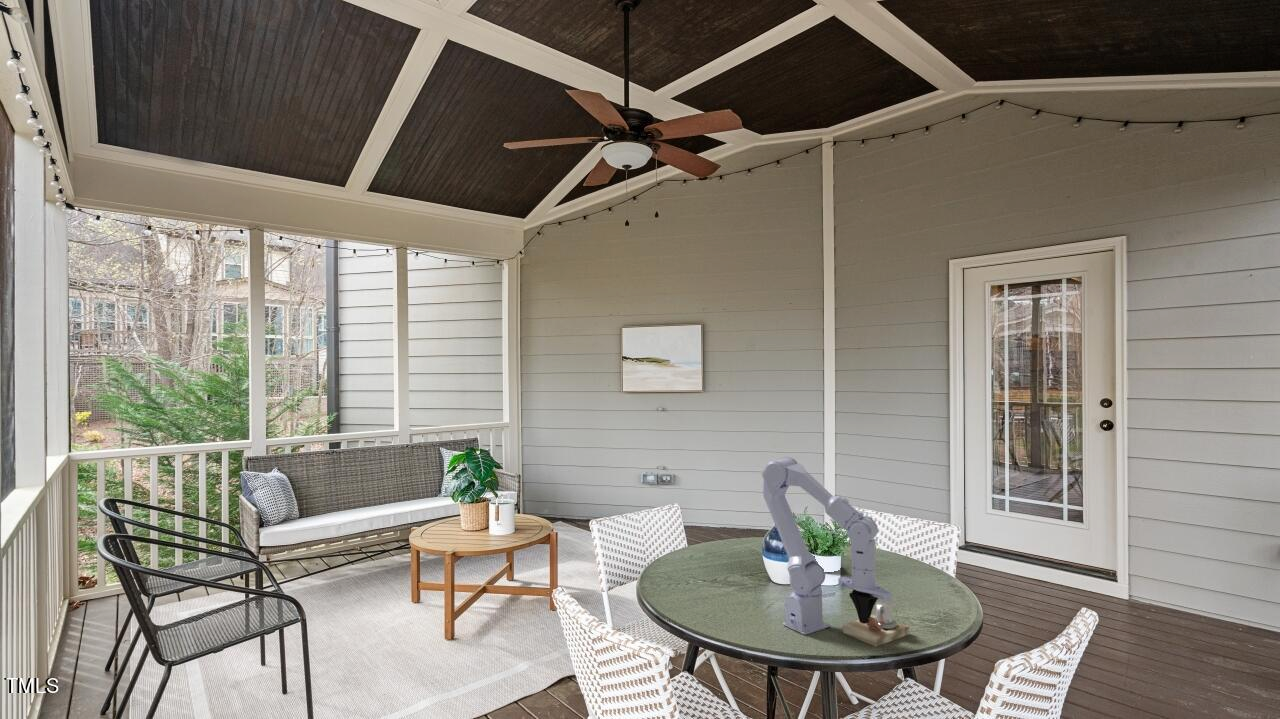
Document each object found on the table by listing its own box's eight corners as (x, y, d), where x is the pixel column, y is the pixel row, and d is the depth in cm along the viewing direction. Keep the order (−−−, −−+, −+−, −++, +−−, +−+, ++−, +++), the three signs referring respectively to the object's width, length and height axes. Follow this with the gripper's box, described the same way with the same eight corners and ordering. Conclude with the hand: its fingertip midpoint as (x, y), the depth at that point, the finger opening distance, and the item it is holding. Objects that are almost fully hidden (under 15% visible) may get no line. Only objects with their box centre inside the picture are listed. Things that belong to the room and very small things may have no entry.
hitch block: (875, 646, 153) (875, 638, 153) (843, 632, 162) (842, 624, 162) (909, 634, 160) (909, 626, 160) (876, 621, 169) (876, 613, 169)
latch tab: (872, 620, 156) (873, 617, 156) (858, 615, 159) (860, 612, 160) (880, 630, 157) (882, 628, 158) (867, 625, 161) (868, 622, 161)
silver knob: (887, 638, 157) (886, 610, 157) (867, 630, 162) (867, 603, 162) (902, 633, 160) (901, 605, 160) (882, 625, 165) (881, 598, 165)
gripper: (899, 571, 154) (900, 628, 153) (851, 557, 166) (852, 610, 165) (880, 576, 150) (881, 634, 149) (832, 562, 162) (833, 615, 162)
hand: (864, 622), depth 157 cm, fingers closed, pressing on latch tab
